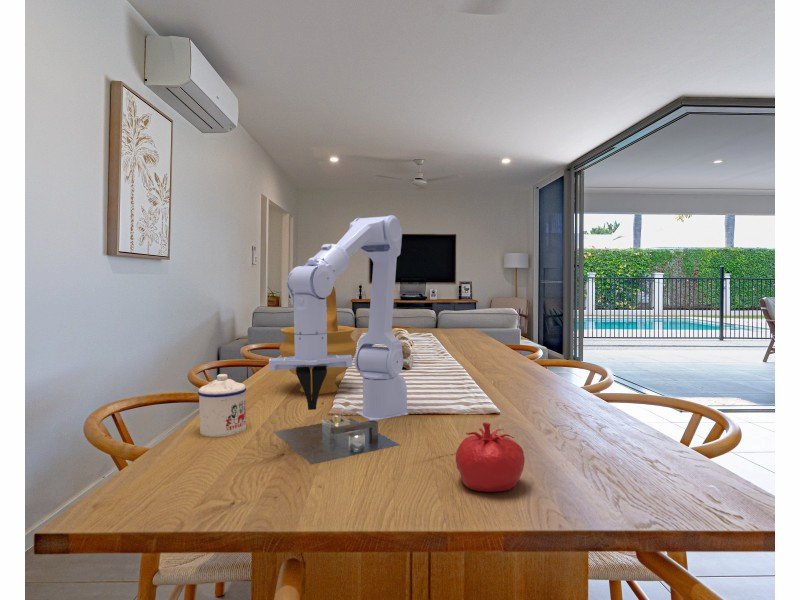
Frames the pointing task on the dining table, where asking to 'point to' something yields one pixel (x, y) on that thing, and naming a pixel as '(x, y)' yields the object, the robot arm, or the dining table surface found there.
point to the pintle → (336, 418)
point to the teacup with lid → (222, 407)
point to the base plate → (326, 443)
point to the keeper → (358, 426)
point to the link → (344, 435)
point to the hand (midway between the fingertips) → (312, 408)
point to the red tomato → (489, 461)
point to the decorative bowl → (336, 345)
